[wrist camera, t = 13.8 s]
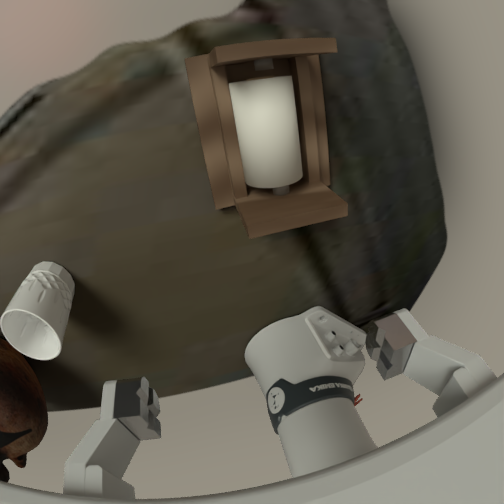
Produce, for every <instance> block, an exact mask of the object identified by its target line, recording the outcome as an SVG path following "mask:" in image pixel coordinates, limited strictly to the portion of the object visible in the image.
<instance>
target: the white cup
mask: <svg viewBox="0 0 504 504" xmlns="http://www.w3.org/2000/svg"><path fill="white" fill-rule="evenodd" d="M74 292H75V283H74V281H73V279H72V276H71V275H70V273H69V272H68V271H67V270H66V269H65V268H64V267H62V266H60V265H58V264H56V263H54V262H45V261H43V262H41V263H39V264H37V265H35V266H34V268H33V269H32V271H31V272H30V274H29V275H28V277H27V278H26V279H25V280H24V281H23V283H22V284H21V286H20V287H19V288H18V290H17V291H16V293H15V295H14V296H13V298H12V300H11V301H10V303H9V305H8V306H7V308H6V310H5V311H4V313H3V315H2V317H1V320H0V326H1V330H2V332H3V334H4V336H5V338H6V339H7V341H8V342H9V343H10V344H11V345H12V346H13V347H14V348H15V349H16V350H18V351H19V352H21V353H22V354H24V355H26V356H28V357H31V358H34V359H38V360H51V359H53V358H55V357H57V356H58V355H59V353H60V351H61V347H62V343H63V338H64V334H65V330H66V326H67V322H68V318H69V313H70V310H71V305H72V300H73V297H74Z"/></svg>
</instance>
